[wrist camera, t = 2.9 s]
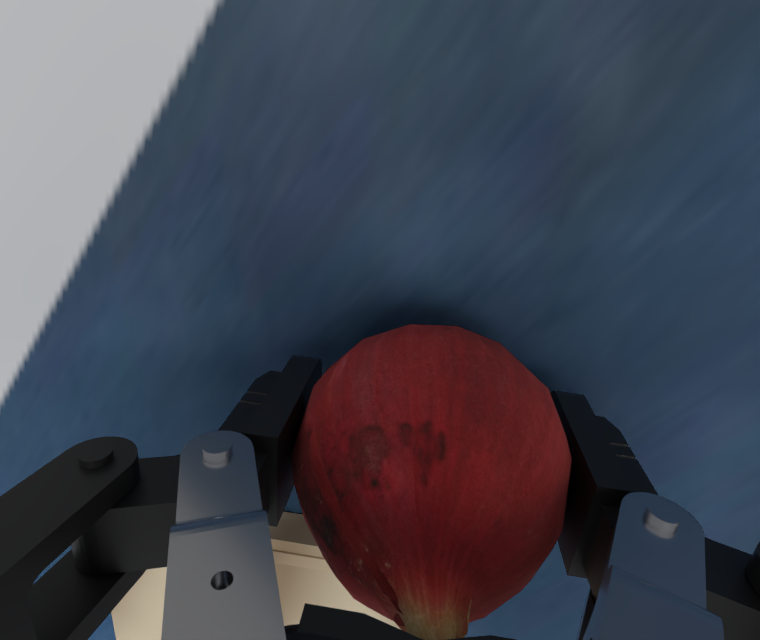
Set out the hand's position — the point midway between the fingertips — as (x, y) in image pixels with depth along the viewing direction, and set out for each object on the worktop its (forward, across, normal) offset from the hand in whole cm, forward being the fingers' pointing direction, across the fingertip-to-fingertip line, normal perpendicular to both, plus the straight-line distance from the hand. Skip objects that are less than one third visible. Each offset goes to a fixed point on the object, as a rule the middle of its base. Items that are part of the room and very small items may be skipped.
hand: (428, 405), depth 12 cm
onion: (+2, 0, 0) cm, 2 cm away
